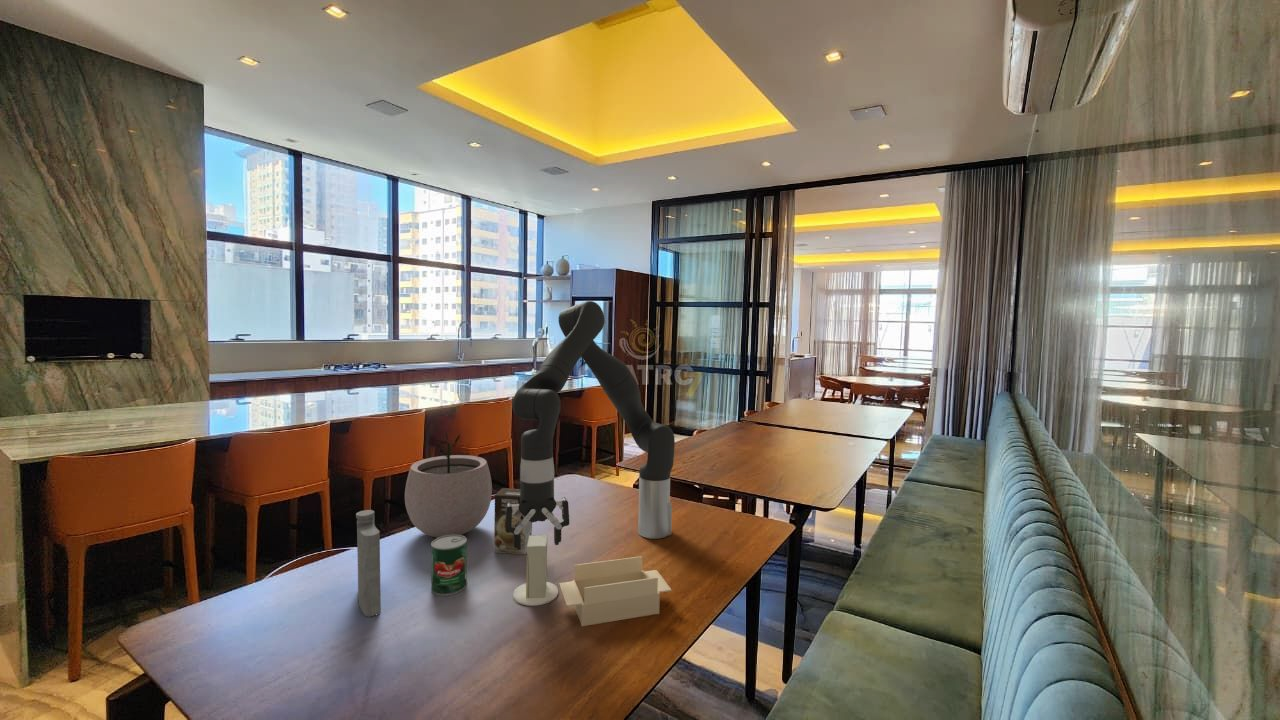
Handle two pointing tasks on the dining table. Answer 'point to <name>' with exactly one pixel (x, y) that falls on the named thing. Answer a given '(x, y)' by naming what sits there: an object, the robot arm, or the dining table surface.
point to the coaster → (521, 598)
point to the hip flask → (368, 563)
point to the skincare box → (536, 566)
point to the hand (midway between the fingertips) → (537, 546)
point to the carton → (613, 590)
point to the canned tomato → (448, 564)
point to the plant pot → (448, 493)
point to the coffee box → (501, 537)
